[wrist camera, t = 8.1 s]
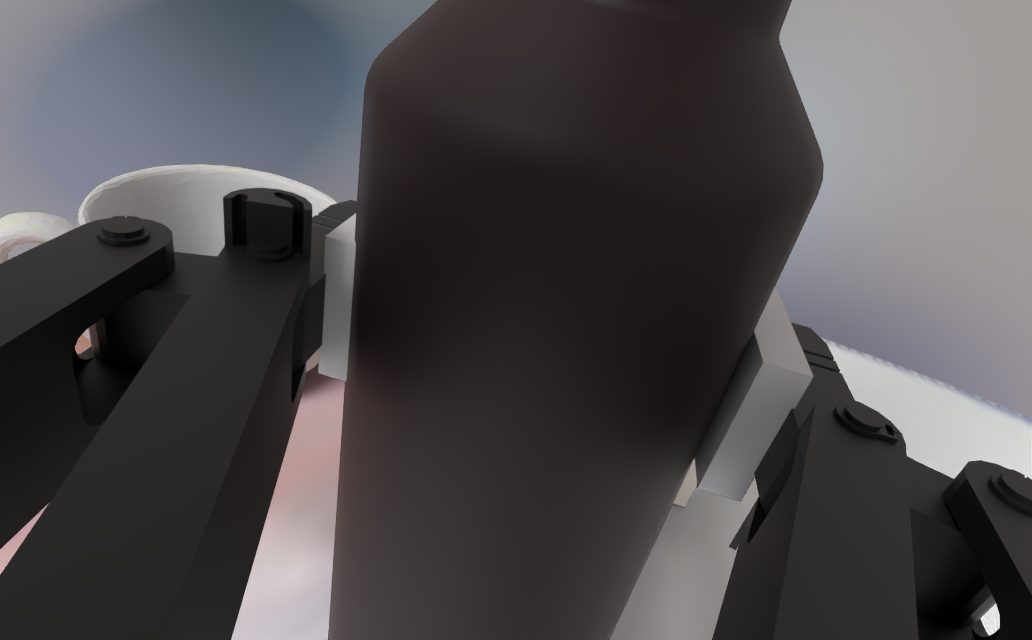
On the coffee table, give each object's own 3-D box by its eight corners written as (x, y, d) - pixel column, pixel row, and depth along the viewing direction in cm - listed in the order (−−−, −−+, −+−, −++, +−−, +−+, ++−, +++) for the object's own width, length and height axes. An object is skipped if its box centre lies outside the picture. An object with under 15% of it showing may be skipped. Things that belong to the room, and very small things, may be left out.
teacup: (336, 304, 36) (346, 176, 32) (355, 428, 27) (372, 276, 23) (52, 298, 31) (22, 143, 27) (-32, 450, 22) (-95, 257, 18)
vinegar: (265, 710, 15) (233, -631, 5) (416, 523, 20) (548, -267, 10) (514, 880, 13) (1326, -719, 3) (604, 622, 18) (984, -218, 8)
